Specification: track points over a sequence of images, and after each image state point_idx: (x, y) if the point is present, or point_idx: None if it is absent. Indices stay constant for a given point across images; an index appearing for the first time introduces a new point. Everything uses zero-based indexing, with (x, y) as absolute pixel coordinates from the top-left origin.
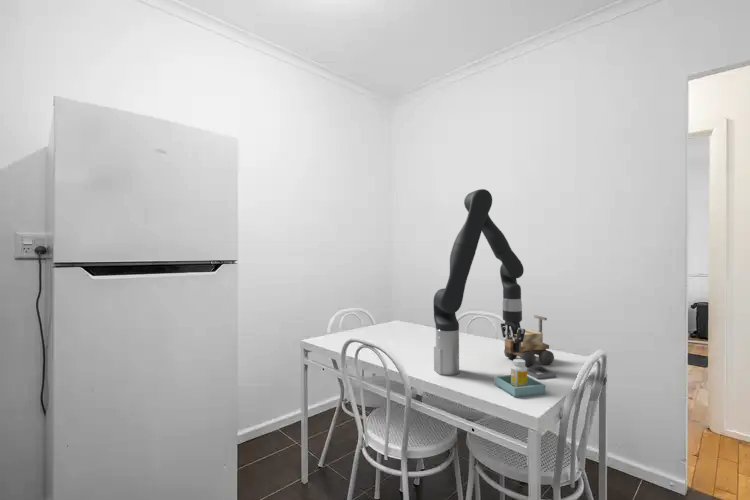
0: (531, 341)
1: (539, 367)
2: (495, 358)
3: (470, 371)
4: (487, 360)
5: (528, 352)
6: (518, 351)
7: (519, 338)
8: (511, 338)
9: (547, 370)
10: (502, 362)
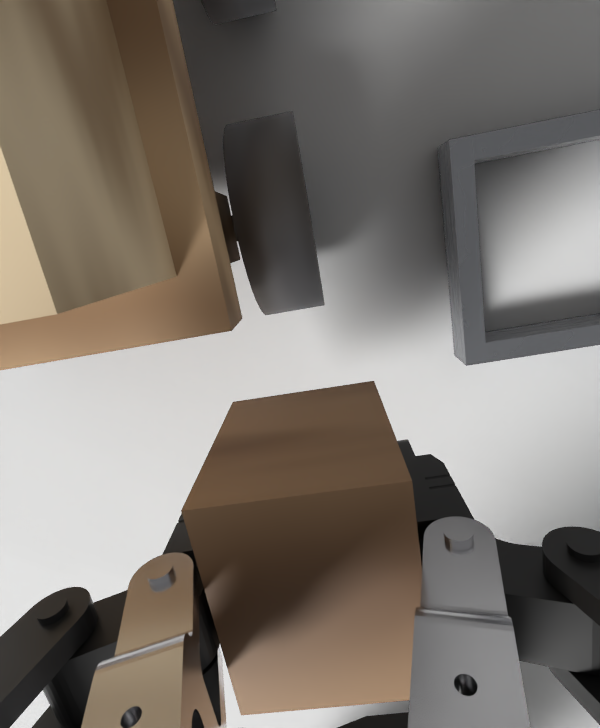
0: (76, 24)
1: (467, 176)
2: (25, 426)
3: (361, 706)
4: (93, 514)
5: (297, 224)
6: (408, 446)
7: (503, 594)
8: (219, 597)
9: (588, 137)
10: (151, 415)
